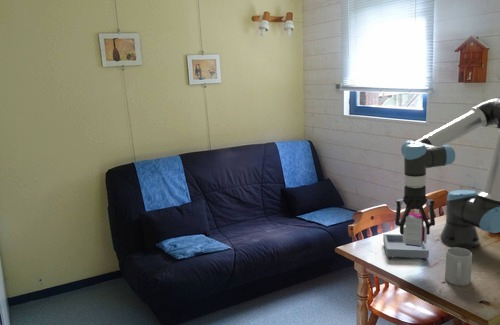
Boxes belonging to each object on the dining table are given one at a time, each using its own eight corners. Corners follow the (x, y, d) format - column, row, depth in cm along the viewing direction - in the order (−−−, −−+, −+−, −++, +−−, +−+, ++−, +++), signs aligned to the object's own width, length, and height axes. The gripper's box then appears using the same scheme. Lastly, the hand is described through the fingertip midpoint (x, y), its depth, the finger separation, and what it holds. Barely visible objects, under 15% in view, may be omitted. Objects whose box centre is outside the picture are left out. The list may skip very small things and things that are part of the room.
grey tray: (421, 245, 184) (421, 235, 183) (428, 261, 169) (428, 250, 168) (383, 244, 188) (383, 234, 187) (386, 259, 172) (387, 249, 171)
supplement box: (421, 247, 158) (421, 218, 156) (405, 245, 161) (404, 217, 159) (424, 241, 163) (423, 213, 161) (408, 239, 166) (407, 212, 164)
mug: (444, 272, 159) (446, 246, 157) (470, 276, 156) (471, 248, 153) (444, 288, 149) (446, 259, 146) (471, 292, 145) (473, 262, 143)
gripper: (440, 181, 159) (439, 238, 164) (386, 182, 163) (386, 237, 168) (445, 187, 152) (444, 246, 157) (388, 188, 156) (388, 245, 161)
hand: (414, 241), depth 163 cm, fingers closed on supplement box, 7 cm apart
